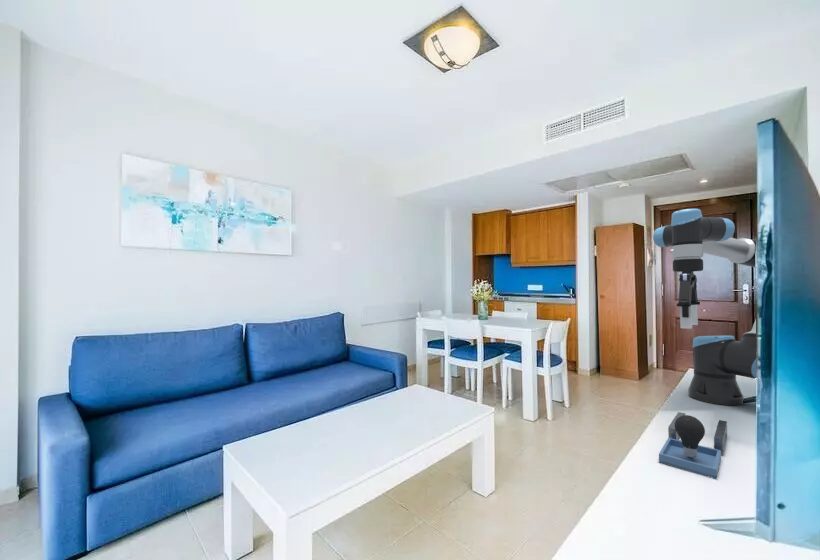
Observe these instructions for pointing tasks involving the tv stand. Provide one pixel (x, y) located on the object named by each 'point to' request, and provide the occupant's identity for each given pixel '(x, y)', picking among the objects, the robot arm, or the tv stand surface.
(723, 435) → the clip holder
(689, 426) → the black round speckled part
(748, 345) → the robot arm
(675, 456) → the parts tray
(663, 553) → the tv stand surface
